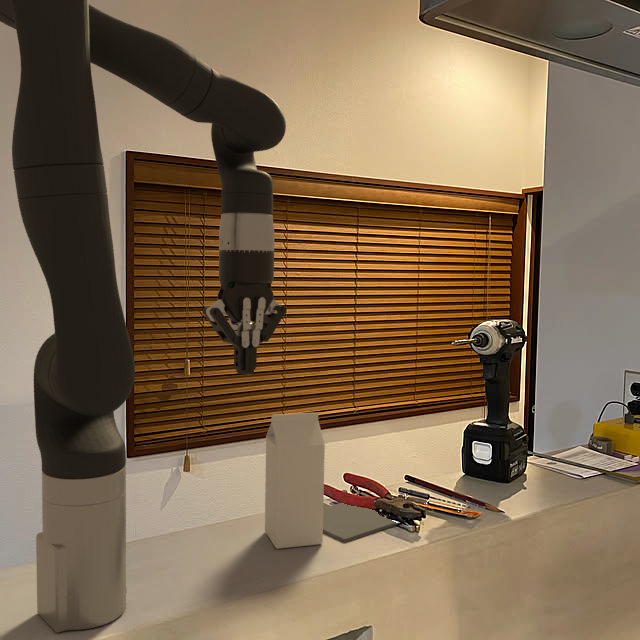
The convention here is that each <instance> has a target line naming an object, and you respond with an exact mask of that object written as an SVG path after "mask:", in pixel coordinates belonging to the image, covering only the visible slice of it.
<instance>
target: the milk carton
mask: <svg viewBox="0 0 640 640" xmlns="http://www.w3.org/2000/svg"><path fill="white" fill-rule="evenodd" d="M325 445H326V444H325V440H324V436H323V433H322V429H321V425H320V423H319V412H303V413H302V412H301V413H284V414H283V413H281V414H280V413H278V414H271V422H270V424H269V428H268V430H267V433H266V435H265V485H264V486H265V488H264V489H265V493H264V495H265V498H264V531H265V533H266V535H267V536H268V538H269V539H270V542H271V543H272V544H273V545H274V548H276V550H277V549H288V548H297V547H307V546H315V545H322V544H323V543H324V540H323V538H324V537H323V536H324V533H323V508H324V495H325V494H324V492H325V490H324V489H325V447H326V446H325Z"/></svg>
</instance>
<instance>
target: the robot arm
mask: <svg viewBox="0 0 640 640" xmlns="http://www.w3.org/2000/svg"><path fill="white" fill-rule="evenodd" d="M89 1H90V0H0V23H3V24H4V25H6V26H8V27H9V28H11V29H14V30H16V31H15V32H16V36H17V42H18V46H19V47H18V49H19V56H20V59H19V60H20V80H19V81H20V82H19V89H18V95H17V102H16V107H15V114H14V115H15V116H14V122H13V131H12V139H11V140H12V142H11V143H12V144H11V158H12V167H13V168H12V169H13V175H14V182H15V183H14V184H15V188H16V194H17V195H16V196H17V201H18V207H19V212H20V215H21V219H22V223H23V227H24V229H25V233H26V235H27V238H28V241H29V243H30V245H31V247H32V250H33V252H34V255H35V257H36V260H37V261H38V264H39V267H40V269H41V271H42V273H43V276H44V278H45V282H46V285H47V288H48V291H49V294H50V295H49V296H50V302H51V307H52V315H53V316H52V317H53V326H54V328H53V329H54V333H52V334H51V335H50V336H48V338H46V339H45V340H44V342H43V343H42V344H41V346H40V347H39V350H38V351H37V354H36V357H35V361H34V366H33V401H34V405H33V406H34V425H35V437H36V443H37V447H38V449H39V453H40V458H41V495H42V496H41V504H42V505H41V509H42V511H41V512H42V513H41V515H42V518H41V519H42V520H41V521H42V532H38V533H37V534H36V536H35V538H36V539H35V541H36V542H35V544H36V546H35V548H36V550H35V551H36V604H37V605H36V606H37V607H36V611H37V614H38V615H39V616H40V617H41V619H43V621H44V622H45V623H47V624H48V626H49V627H51V629H52V630H53V631H54V632H55V633H61V632H64V631H74V630H76V631H77V630H79V631H81V630H87V629H93V628H97V627H101V626H104V625H107V624H109V623H111V622H112V621H115V620H116V619H118V618H119V617H120V616H121V615H122V614H123V613H125V610H126V608H127V528H126V527H127V523H126V521H127V518H126V517H127V512H126V510H127V507H126V506H127V505H126V504H127V499H126V498H127V497H126V496H127V491H126V490H127V484H126V483H127V479H126V478H127V477H126V476H127V474H126V473H127V471H126V470H127V469H126V468H127V467H126V466H127V465H126V464H127V458H126V457H127V455H126V454H127V453H126V444H125V441H124V439H123V437H122V435H121V433H120V432H119V429H118V426H117V422H116V419H115V414H114V413H115V411H116V410H118V409H119V408H120V407H121V406H122V405H123V404H124V403H125V402H126V400H127V399H128V397H129V396H130V394H131V392H132V389H133V387H134V382H135V379H136V364H135V363H136V362H135V357H134V352H133V349H132V344H131V339H130V335H129V331H128V327H127V324H126V319H125V314H124V310H123V307H122V303H121V297H120V292H119V287H118V280H117V271H116V261H115V259H116V258H115V253H114V252H115V251H114V242H113V236H112V234H113V233H112V229H111V228H112V227H111V225H112V224H111V219H110V218H111V217H110V208H109V196H108V195H109V194H108V189H107V188H108V187H107V182H106V181H107V179H106V171H105V165H104V160H103V159H104V158H103V153H102V148H101V141H100V133H99V125H98V113H97V106H96V99H95V98H96V97H95V91H94V82H93V76H92V66H91V64H93V65H95V66H97V67H99V68H101V69H103V70H104V71H106V72H109V73H110V74H112V75H114V76H116V77H118V78H119V79H121V80H124V81H126V82H127V83H128V84H131V85H133V86H134V87H136V88H138V89H139V90H141V91H142V92H144V93H146V94H148V95H150V97H152V98H154V99H156V100H157V101H159V102H161V103H162V104H163V105H165V106H167V107H168V108H169V109H171V110H173V111H175V112H177V113H178V114H180V116H182V117H184V118H185V119H188V120H190V121H192V122H195V123H202V124H211V129H210V130H211V131H210V136H211V137H210V138H211V145H212V149H213V153H214V159H215V162H216V168H217V171H218V175H219V178H220V182H221V195H220V196H221V199H220V200H221V204H220V207H221V208H220V209H221V210H220V213H221V216H220V223H219V229H218V230H219V231H218V232H219V233H218V235H219V237H218V246H219V247H218V280H219V283H220V287H219V291H218V293H217V300H216V301H215V302H214V303H212V305H210V306H205V307H204V308H203V309H202V313H203V315H204V316H205V319H206V320H207V321H208V322H209V324H210V325H211V327H212V328H213V329H214V331H215V332H216V334H217V336H218V337H219V338H220V340H221V342H223V343H227V344H230V345H232V346H233V358H234V359H233V368H234V370H236V373H237V374H239V375H243V376H245V375H252V374H254V373H255V370H256V368H257V364H258V363H257V357H258V356H257V350H258V347H259V345H260V344H261V343H263V342H264V343H265V342H268V341H269V340H270V338H271V337H272V335H273V334H274V332H275V331H276V329H277V328H278V326H279V324H280V322H281V321H282V319H283V318H284V316H285V314H286V313H287V307H286V306H285V305H280V304H279V303H278V302H277V301H276V299H274V298H275V293H274V291H273V289H272V283H273V282H274V279H275V225H274V216H273V214H274V184H273V183H274V182H273V178H272V176H271V175H270V174H269V173H267V172H266V171H263V170H260V169H258V168H257V164H256V160H255V156H254V155H255V154H254V153H256V152H263V151H269V150H271V149H274V148H275V147H276V146H277V145H279V144H280V143H281V141H283V139H284V136H285V134H286V132H287V131H286V129H287V124H286V123H287V122H286V118H285V115H284V113H283V110H282V109H281V107H280V106H279V104H278V103H277V102H276V101H275V100H274V99H273V98H271V97H270V96H269V95H268V94H267V93H265V92H263V91H261V90H259V89H257V88H255V87H253V86H251V85H248V84H247V83H243V82H242V81H240V80H237V79H235V78H232V77H230V76H226V75H224V74H222V73H220V72H218V71H217V70H215V69H214V68H213V67H211V66H210V65H209V64H208V63H206V62H205V61H204V60H202V59H201V58H200V57H198V56H196V55H195V54H193V53H192V52H191V51H189V50H188V49H186V48H185V47H183V46H181V45H179V43H176V42H174V41H173V40H172V39H171V40H170V39H168V38H167V37H164V36H163V35H160V34H157V33H155V32H151V31H149V30H146V29H144V28H140V27H138V26H137V25H133V24H130V23H128V22H125V21H123V20H120V19H117V18H115V17H113V16H111V15H109V14H107V13H105V12H103V11H102V10H100V9H98V8H96V7H94V6H93V5H91V4H90V2H89ZM226 316H227V317H228V320H227V318H226ZM252 322H253V323H252Z"/></svg>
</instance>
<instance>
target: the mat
mask: <svg viewBox="0 0 640 640" xmlns="http://www.w3.org/2000/svg"><path fill="white" fill-rule="evenodd" d="M395 523H396V522H394V521H392V520H390V519H387V518H385V517H382V516H380V515H379V514H378V512H376V511H375V510H372V509H367V508H361V507H357V506H351V505H347V504H344V503H342V502H339V503H336V504H332V505H328V506H325V507H323V534H325V535H327V536H329V537H331V538H334V539H336V540H339V541H341V542H343V543H348V542H351V541H352V540H355V539H358V538H361V537H365V536H368V535H371V534H374V533H376V532H379V531H382V530H386V529H389V528H391V527H395V526H397V525H396V524H395Z"/></svg>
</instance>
